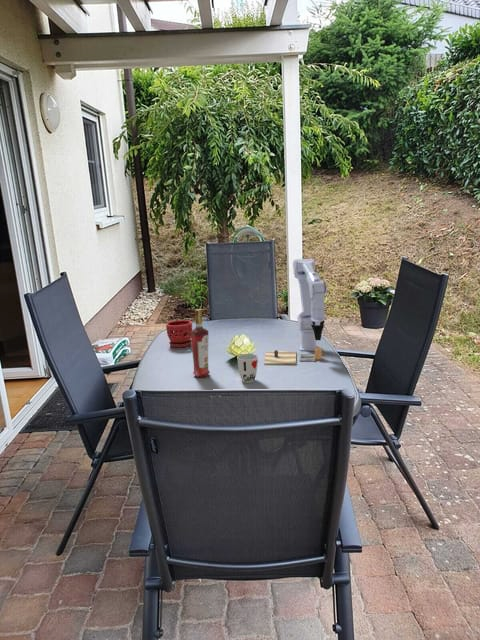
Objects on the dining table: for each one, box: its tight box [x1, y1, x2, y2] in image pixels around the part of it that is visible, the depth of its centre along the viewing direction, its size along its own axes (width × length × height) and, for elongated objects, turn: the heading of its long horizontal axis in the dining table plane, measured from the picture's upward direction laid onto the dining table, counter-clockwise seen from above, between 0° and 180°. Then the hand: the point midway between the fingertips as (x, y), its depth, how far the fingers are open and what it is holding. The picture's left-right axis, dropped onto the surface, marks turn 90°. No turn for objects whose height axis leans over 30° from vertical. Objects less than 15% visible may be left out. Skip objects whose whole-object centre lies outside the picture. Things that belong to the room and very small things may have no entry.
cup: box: [236, 353, 259, 384], centre depth 189 cm, size 8×8×10 cm
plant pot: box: [165, 320, 193, 348], centre depth 242 cm, size 13×13×12 cm
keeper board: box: [263, 349, 297, 366], centre depth 217 cm, size 18×14×4 cm
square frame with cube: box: [298, 346, 323, 362], centre depth 215 cm, size 10×7×5 cm
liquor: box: [190, 308, 211, 378], centre depth 195 cm, size 7×7×28 cm
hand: (318, 338), depth 213 cm, fingers open, 7 cm apart
